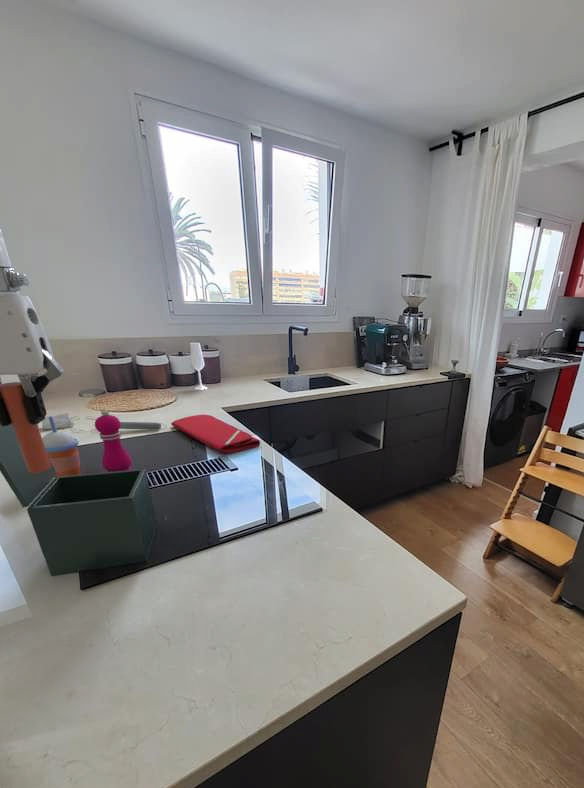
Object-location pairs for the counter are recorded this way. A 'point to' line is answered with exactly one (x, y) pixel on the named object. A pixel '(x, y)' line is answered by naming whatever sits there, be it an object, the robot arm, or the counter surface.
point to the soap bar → (57, 421)
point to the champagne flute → (197, 362)
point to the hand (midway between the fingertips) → (24, 421)
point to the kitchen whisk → (130, 425)
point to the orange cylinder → (25, 428)
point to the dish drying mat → (216, 433)
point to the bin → (94, 521)
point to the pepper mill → (112, 443)
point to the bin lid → (20, 469)
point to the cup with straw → (62, 451)
